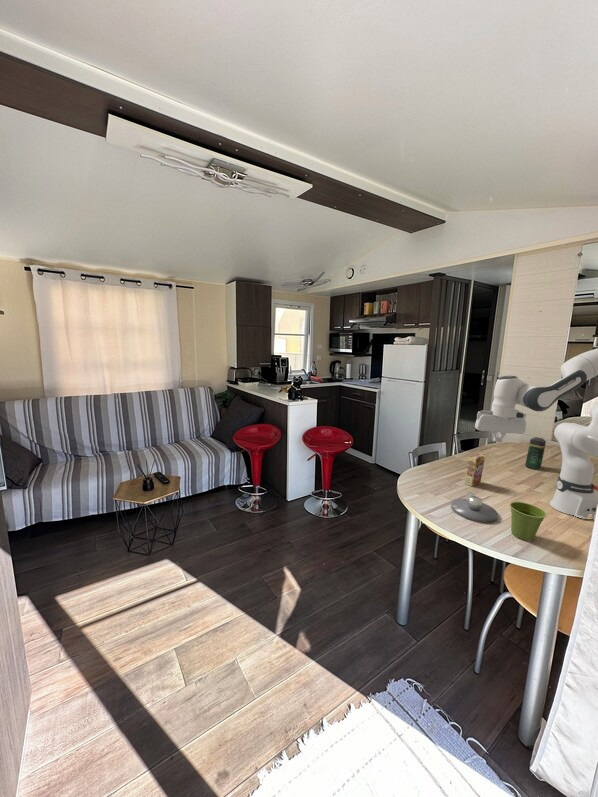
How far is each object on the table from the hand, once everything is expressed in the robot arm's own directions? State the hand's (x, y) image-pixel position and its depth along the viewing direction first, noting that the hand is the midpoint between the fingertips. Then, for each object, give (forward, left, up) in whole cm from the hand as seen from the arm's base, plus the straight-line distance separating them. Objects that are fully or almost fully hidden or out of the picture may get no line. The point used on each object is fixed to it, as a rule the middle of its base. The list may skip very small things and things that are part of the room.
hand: (497, 441), depth 151 cm
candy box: (0, -19, -29) cm, 35 cm away
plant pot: (-2, +28, -29) cm, 41 cm away
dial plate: (+11, +13, -29) cm, 34 cm away
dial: (+11, +11, -27) cm, 31 cm away
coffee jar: (-48, -55, -29) cm, 79 cm away
